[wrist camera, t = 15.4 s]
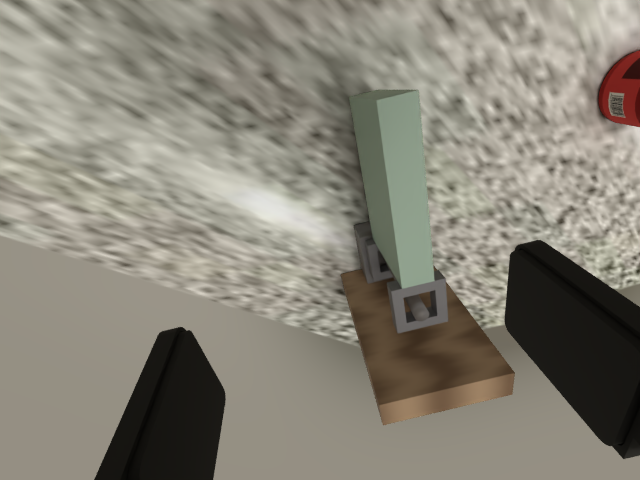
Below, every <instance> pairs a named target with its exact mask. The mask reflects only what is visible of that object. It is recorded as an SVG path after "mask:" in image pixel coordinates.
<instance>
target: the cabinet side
mask: <svg viewBox="0 0 640 480" xmlns="http://www.w3.org/2000/svg"><path fill="white" fill-rule="evenodd" d="M354 229H355V235H356V240H357V245H358V251H359V256H360V262H361V267H362V269H360V270H356V271H352V272H348V273H343V274H341V277H342V281H343V286H344V290H345V294H346V297H347V301H348V304H349V308H350V311H351V315H352V318H353V322H354V325H355V329H356V332H357V336H358V339H359V343H360V346H361V350H362V353H363V357H364V360H365V364H366V367H367V371H368V374H369V378H370V381H371V385H372V388H373V392H374V395H375V399H376V402H377V406H378V409H379V412H380V416H381V420H382V423H383V425H386V424H390V423H394V422H398V421H403V420H407V419H411V418H415V417H419V416H424V415H428V414H432V413H436V412H441V411H445V410H449V409H453V408H457V407H461V406H466V405H470V404H474V403H478V402H482V401H487V400H491V399H495V398H499V397H504V396H508V395H512V392H513V384H514V376H515V372H514V371H513V370H512V369H511V367H510V366H509V365H508V363H507V362H506V361H505V359H504V358H503V357H502V355H501V354H500V353H499V351H498V350H497V349H496V347H495V346H494V345H493V344H492V342H491V341H490V339H489V338H488V337H487V336H486V334H485V333H484V331H483V330H482V329H481V327H480V326H479V325H478V324H477V322H476V321H475V320H474V318H473V317H472V316H471V314H470V313H469V312H468V310H467V309H466V308H465V306H464V305H463V304H462V302H461V301H460V300H459V298H458V297H457V296H456V294H455V293H454V292H453V290H452V289H451V288H450V286H449V285H448V284H447V283H446V294H447V309H448V322H444V323H440V324H435V325H431V326H427V327H423V328H419V329H415V330H411V331H406V332H402V333H397V331H396V329H395V326H394V324H393V319H392V313H391V307H390V301H389V294H388V288H387V282H391V281H395V280H397V279H396V278H395V276H394V274H393V272H392V271H391V269H390V267H389V266H388V264H387V262H386V260H385V259H384V257H383V255H382V253H381V252H380V251H377V253H378V260H379V266H382V265H387V266H388V268H389V270H390V272H391V274H392V276H393V277H390V278H386V279H382V280H378V281H373V278H372V276H371V272H370V267H369V261H368V256H367V250H366V245H365V240H369V239H373V237H372V231H371V225H370V222H366V223H361V224H357V225H354ZM433 268H434V271H437V269H436V268H435V267H434V265H433ZM403 299H404V307H405V313H406V312H410V311H411V312H412V314H413V316H414V318H415V319H416V320H417V321H424V320H426V319H427V318H428V317H429V312H428V310H427V308H426V307H430V306H431V299H430V291H429V292H425V293H421V294H417V295H413V296H409V297H404V298H403Z"/></svg>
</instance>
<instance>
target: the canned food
mask: <svg viewBox="0 0 640 480" xmlns="http://www.w3.org/2000/svg"><path fill="white" fill-rule="evenodd" d="M599 107H600V110H601V112H602V114H603V115H604V116H605V117H606V118H608V119H610V120H611V121H613V122H615V123H620V124H626V125H631V126H636V127H640V50H639V51H636V52H633V53H631V54H629V55H627V56H625V57H624V58H622V59H621V60H620V61H619V62H617V63H616V64H615V65H614V66H613V67H612V69H611V70H610V71H609V72H608V74H607V75H606V77H605V79H604V81H603V83H602V85H601V88H600V92H599Z"/></svg>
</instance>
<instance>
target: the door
mask: <svg viewBox="0 0 640 480" xmlns="http://www.w3.org/2000/svg"><path fill="white" fill-rule="evenodd" d="M349 101H350V107H351V112H352V118H353V124H354V130H355V136H356V142H357V148H358V154H359V160H360V166H361V172H362V178H363V183H364V189H365V195H366V201H367V207H368V213H369V219H370V225H371V231H372V237H373V239H369V240H365V245H366V250H367V256H368V261H369V267H370V272H371V276H372V278H373V281H378V280H382V279H386V278H390V277H393V276H392V274H391V272H390V270H389V268H388V266H389V267H390V269H391V271H392V272H393V274H394V276H395V278H396V279H397V280H395V281H391V282H387V288H388V294H389V301H390V307H391V313H392V319H393V324H394V326H395V329H396V331H397V333H402V332H406V331H411V330H415V329H419V328H423V327H427V326H431V325H435V324H440V323H444V322H448V309H447V294H446V279H445V277H444V276H443V275H442V274H441V272H440V271H439V270H437V271H434V268H433V256H432V244H431V232H430V220H429V208H428V196H427V184H426V172H425V160H424V148H423V136H422V124H421V112H420V100H419V90H375V91H371V92H367V93H363V94H359V95H355V96H351V97H349ZM377 251H380V252H381V253H382V255H383V257H384V259H385V260H386V262H387V264H388V266H387V265H382V266H379V260H378V253H377ZM429 291H430V299H431V306H430V307H426V308H427V310H428V312H429V317H428V318H427V319H426V320H424V321H417V320H416V319H415V318H414V316H413V314H412V312H411V311H410V312H406V313H405V307H404V299H403V298H404V297H409V296H413V295H417V294H421V293H425V292H429Z"/></svg>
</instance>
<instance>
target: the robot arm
mask: <svg viewBox="0 0 640 480" xmlns="http://www.w3.org/2000/svg"><path fill="white" fill-rule="evenodd" d="M505 325H506V328H507V330H508V332H509V333H510V334H511V336H512V337H513V338H514V339H515V340H516V341H517V343H518V344H519V345H520V346H521V347H522V349H523V350H524V351H525V352H526V353H527V354H528V356H529V357H530V358H531V359H532V360H533V361H534V363H535V364H536V365H537V366H538V367H539V369H540V370H541V371H542V372H543V373H544V374H545V376H546V377H547V378H548V379H549V380H550V381H551V383H552V384H553V385H554V386H555V387H556V389H557V390H558V391H559V392H560V393H561V394H562V396H563V397H564V398H565V399H566V400H567V402H568V403H569V404H570V405H571V406H572V407H573V409H574V410H575V411H576V412H577V413H578V414H579V416H580V417H581V418H582V419H583V420H584V421H585V423H586V424H587V425H588V426H589V427H590V429H591V430H592V431H593V432H594V433H595V435H596V436H597V437H598V438H599V439H600V440H601V441H602V442H603V443H604V444H606V445H608V446H613V448H614V449H615V450H616V451H617V452H618V453H619V455H620V456H621V457H622V458H623V459H625V458H630V457H634V456H639V455H640V307H639V306H637V305H636V304H634V303H633V302H631V301H630V300H629V299H627V298H626V297H624V296H623V295H621V294H620V293H618V292H617V291H615V290H614V289H612V288H611V287H610V286H608V285H607V284H605V283H604V282H602V281H601V280H599V279H598V278H596V277H595V276H593V275H592V274H590V273H589V272H588V271H586V270H585V269H583V268H582V267H580V266H579V265H577V264H576V263H574V262H573V261H571V260H570V259H568V258H567V257H566V256H564V255H563V254H561V253H560V252H558V251H557V250H555V249H554V248H552V247H551V246H549V245H548V244H546V243H545V242H543V241H541V240H536V241H532V242H528V243H524V244H520V245H518V246H516V248H515V251H513V252H512V253H511V254H510V263H509V274H508V286H507V298H506V309H505ZM224 406H225V391H224V389H223V386H222V385H221V383H220V381H219V379H218V377H217V376H216V374H215V372H214V370H213V369H212V367H211V365H210V363H209V361H208V360H207V358H206V356H205V354H204V353H203V351H202V349H201V347H200V346H199V344H198V342H197V340H196V338H195V337H194V335H193V333H192V332H191V331H190V330H188V331H186V330H185V329H184V328H183V327H178V328H174V329H170V330H166V331H162V332H160V333H159V335H158V336H157V339H156V341H155V343H154V346H153V348H152V350H151V353H150V355H149V357H148V359H147V361H146V364H145V366H144V368H143V370H142V373H141V375H140V377H139V380H138V382H137V384H136V386H135V389H134V391H133V393H132V395H131V398H130V400H129V402H128V405H127V407H126V409H125V411H124V414H123V416H122V418H121V421H120V423H119V425H118V427H117V430H116V432H115V434H114V436H113V438H112V441H111V443H110V446H109V448H108V450H107V452H106V454H105V457H104V459H103V461H102V463H101V466H100V468H99V470H98V472H97V475H96V477H95V479H94V480H213V477H214V470H215V464H216V458H217V451H218V444H219V439H220V432H221V426H222V420H223V413H224Z"/></svg>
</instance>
